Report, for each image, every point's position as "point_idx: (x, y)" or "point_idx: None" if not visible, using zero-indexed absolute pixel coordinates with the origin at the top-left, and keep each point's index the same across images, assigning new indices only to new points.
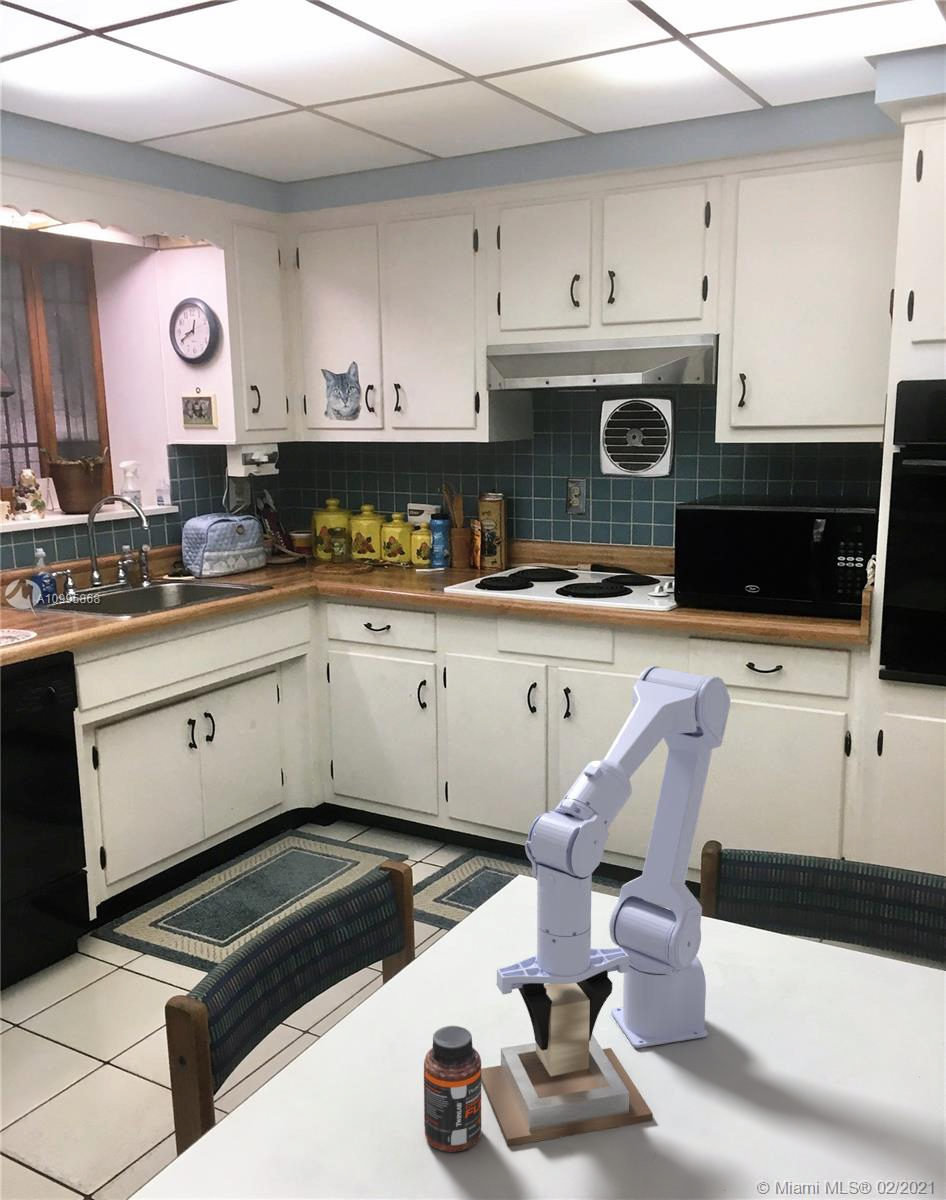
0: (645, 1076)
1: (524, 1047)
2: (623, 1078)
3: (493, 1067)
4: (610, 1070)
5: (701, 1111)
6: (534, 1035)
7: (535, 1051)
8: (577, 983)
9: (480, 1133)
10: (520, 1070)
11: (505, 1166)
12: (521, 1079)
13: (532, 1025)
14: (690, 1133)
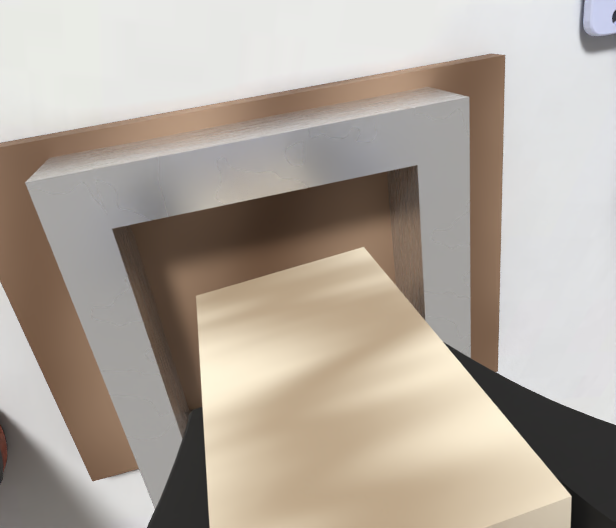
0: (546, 185)
1: (147, 180)
2: (481, 233)
3: (14, 152)
4: (455, 326)
5: (607, 326)
6: (186, 427)
7: (198, 209)
8: (575, 523)
9: (6, 458)
10: (126, 334)
11: (93, 519)
12: (130, 380)
13: (175, 460)
14: (547, 394)
